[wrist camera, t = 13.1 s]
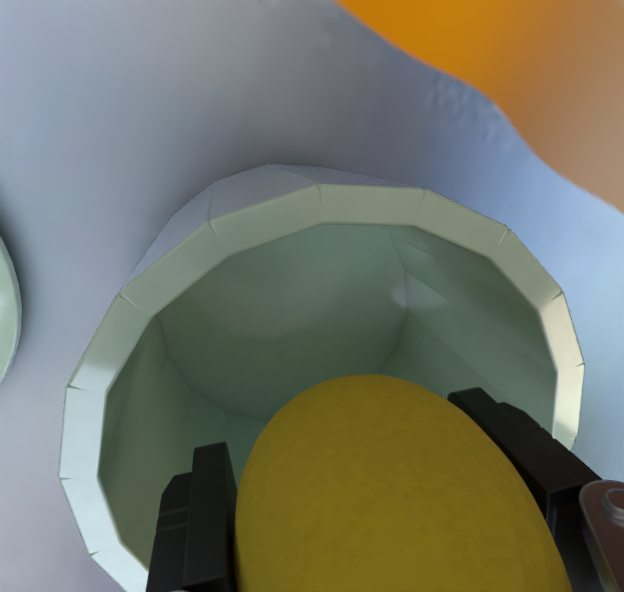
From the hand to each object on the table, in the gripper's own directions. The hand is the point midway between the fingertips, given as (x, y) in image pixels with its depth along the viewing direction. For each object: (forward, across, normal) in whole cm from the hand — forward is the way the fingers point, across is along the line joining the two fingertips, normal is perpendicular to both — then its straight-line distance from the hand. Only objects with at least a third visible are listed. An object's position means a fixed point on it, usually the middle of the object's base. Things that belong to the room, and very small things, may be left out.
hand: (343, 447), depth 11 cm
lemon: (+1, 0, 0) cm, 1 cm away
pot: (+10, 0, 0) cm, 10 cm away
